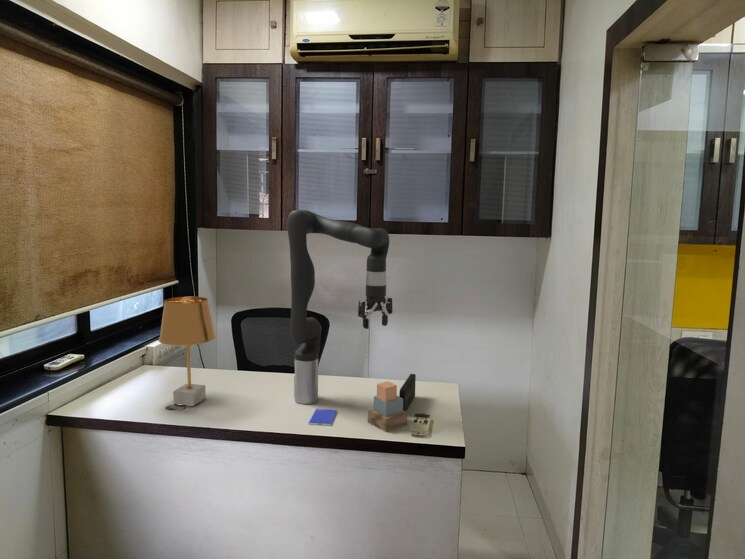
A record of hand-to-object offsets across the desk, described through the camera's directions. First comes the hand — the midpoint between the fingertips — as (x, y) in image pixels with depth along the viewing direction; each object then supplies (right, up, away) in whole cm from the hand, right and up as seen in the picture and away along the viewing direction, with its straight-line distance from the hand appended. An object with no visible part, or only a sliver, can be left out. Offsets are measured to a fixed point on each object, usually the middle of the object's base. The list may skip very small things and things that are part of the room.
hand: (375, 327), depth 190 cm
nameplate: (+13, -32, +12) cm, 37 cm away
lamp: (-73, -31, +13) cm, 80 cm away
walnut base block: (+4, -35, -5) cm, 35 cm away
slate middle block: (+5, -30, -5) cm, 30 cm away
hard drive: (-19, -34, -1) cm, 39 cm away
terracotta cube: (+4, -25, -7) cm, 26 cm away
